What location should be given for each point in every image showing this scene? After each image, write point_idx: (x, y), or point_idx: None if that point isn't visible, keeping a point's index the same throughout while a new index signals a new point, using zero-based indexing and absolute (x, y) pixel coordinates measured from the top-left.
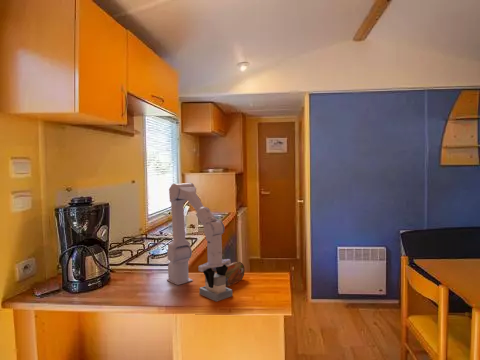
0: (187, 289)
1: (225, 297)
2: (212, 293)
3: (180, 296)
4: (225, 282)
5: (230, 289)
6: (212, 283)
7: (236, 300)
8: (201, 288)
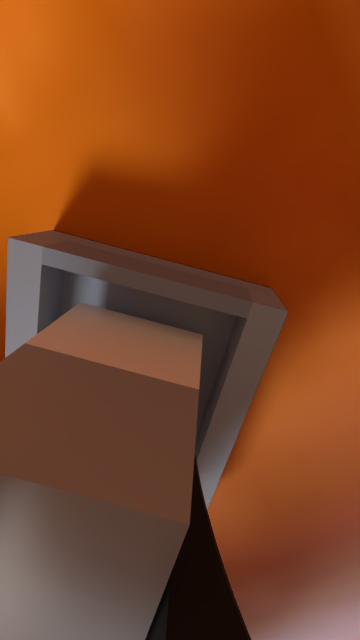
0: None
1: (147, 258)
2: (259, 380)
3: (300, 572)
4: (12, 356)
5: (20, 265)
6: (191, 501)
7: (123, 96)
8: None
